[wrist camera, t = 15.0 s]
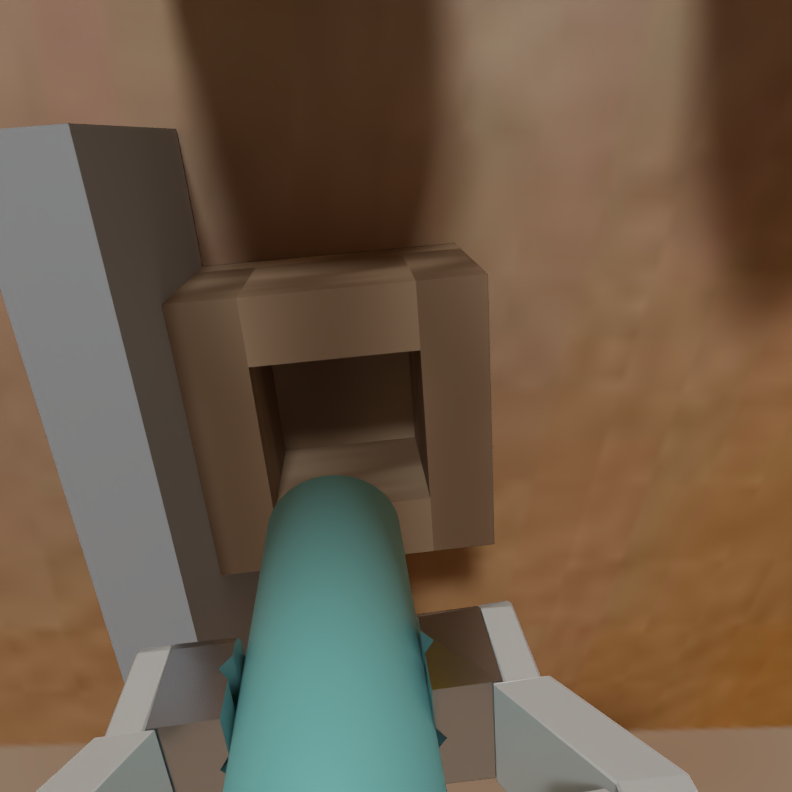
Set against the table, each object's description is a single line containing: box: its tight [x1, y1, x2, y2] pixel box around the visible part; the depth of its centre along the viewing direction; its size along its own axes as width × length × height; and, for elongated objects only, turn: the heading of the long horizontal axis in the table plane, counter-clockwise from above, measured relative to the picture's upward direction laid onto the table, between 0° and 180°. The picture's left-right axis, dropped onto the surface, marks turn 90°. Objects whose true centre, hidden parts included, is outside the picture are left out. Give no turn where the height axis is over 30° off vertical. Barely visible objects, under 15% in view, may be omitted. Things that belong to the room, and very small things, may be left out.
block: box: [162, 243, 494, 575], centre depth 20 cm, size 8×8×5 cm
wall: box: [0, 123, 260, 683], centre depth 18 cm, size 2×18×8 cm, turn 4°
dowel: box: [223, 475, 447, 792], centre depth 9 cm, size 3×3×9 cm
